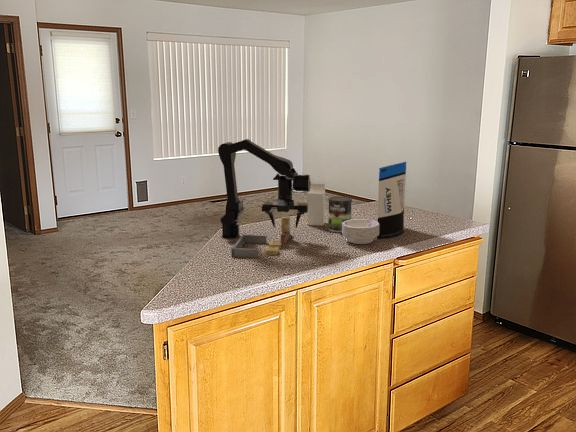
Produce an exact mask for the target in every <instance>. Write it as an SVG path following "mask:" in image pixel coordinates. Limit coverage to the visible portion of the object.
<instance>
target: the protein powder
mask: <svg viewBox="0 0 576 432" xmlns="http://www.w3.org/2000/svg"><path fill="white" fill-rule="evenodd" d="M378 169H379V170H378V171H379V172H378V193H377V194H378V198H377V199H378V200H377V201H378V202H377V222H378V223H379V235H378V236H377V237H376V240H382V239H383V240H384V239H392V238H397V237H399V236H402V235H403V234H404V232H405V219H404V217H405V216H404V215H405V212H404V211H405V195H406V177H407V176H406V175H407V174H406V173H407V161H403V162H400V163H395V164H391V165H386V166H383V167H379V168H378Z"/></svg>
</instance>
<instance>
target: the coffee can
mask: <svg viewBox="0 0 576 432" xmlns="http://www.w3.org/2000/svg"><path fill="white" fill-rule="evenodd" d="M352 200H353V199H352V197H349V196H348V197H347V196H340V195H339V196H330V197H329V198H328V220H327V221H328V222H327V223H328V224H327V227H328V228H327V229H328V231H330V232H331V233H332V232H334V233H342V223H343V222H344V221H347V220H352Z"/></svg>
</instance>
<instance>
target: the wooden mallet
mask: <svg viewBox="0 0 576 432" xmlns="http://www.w3.org/2000/svg"><path fill="white" fill-rule="evenodd" d="M280 223H281V224H280V225H281V227H280V228H281V230H280V231H281V235H280V242H282V245H284V244H285V245H286V244H287V242H288V239H290V236H291V226H290V225H291V224H290V223H291V222H290V216H285V215H284V216H282V217H281V222H280Z"/></svg>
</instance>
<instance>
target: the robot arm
mask: <svg viewBox="0 0 576 432" xmlns="http://www.w3.org/2000/svg"><path fill="white" fill-rule="evenodd" d="M240 151H246V152H248V153H250V154H252V155H254V156H255V157H256V158H258V159H260V160H262V161H263V162H265V163H267V164H268V165H269V166H271V167H272V169H273V170H274V171H275V172H277V174H276V175H275V176H274V177H273V178H272V179H273V181H277V200H276V204H274V202H273V201H272V202H269V201H268V202H264V203H263V204H262V205H261V212H264V213H265V214H267V215H268V216H269V219H270V222H271V224H272V226H273V228H275V227H276V219H275V218H276V217H275V210H276V212H278V213H282V212H283V213H289V212H290V211H296V216H295V217H296V219H295V229H297V228H298V225H299V222H300V219H301V217H302V215H305V213H308V202H307V203H306V202H298V204H295V201H294V199H293V190H295V192H307V193H308V192H310V188H311V183H312V182H311V178H310V174H298V172H297V171H296V170H295V168H294V164H293V162H292V161H291V160H290V159H288V158H285V157H282V156H279V155H275V154H274V153H272V152H270V151H268V150H267V149H265V148H263V147H261V146H260V145H258V144H257V143H255V142H253V141H251V139H249V138H246V139H243V140H241V141H238V142H234V143H233V142H231V141H227V142H224V143H221V144H220V145H219V146H218V148H217V153H218V157H219V159H220V161H221V164H222V165H223V173H224V182H225V190H226V197H227V198H226V204H225V212H224V213H225V214H224V215H223V216H222V217H221V218H220V220H219V221H220V223H221V227H222V228H221V232H222V234H221V238H226V239H228V238H232V239H233V238H234V239H236V238H238V236H239V235H240V234H241V233H240V224H239V221H238V220H239V218H240V217H241V216H242V214H243V213H244V210H245V207H244V200H240V198H239V195H238V186H237V179H236V177H237V176H236V169H235V161H236V158H237V157H236V155H237V152H240Z"/></svg>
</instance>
